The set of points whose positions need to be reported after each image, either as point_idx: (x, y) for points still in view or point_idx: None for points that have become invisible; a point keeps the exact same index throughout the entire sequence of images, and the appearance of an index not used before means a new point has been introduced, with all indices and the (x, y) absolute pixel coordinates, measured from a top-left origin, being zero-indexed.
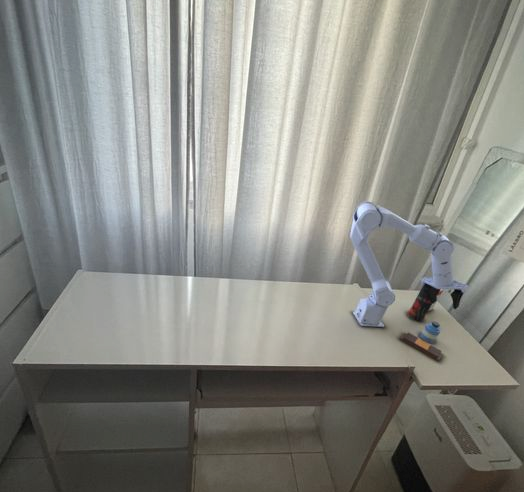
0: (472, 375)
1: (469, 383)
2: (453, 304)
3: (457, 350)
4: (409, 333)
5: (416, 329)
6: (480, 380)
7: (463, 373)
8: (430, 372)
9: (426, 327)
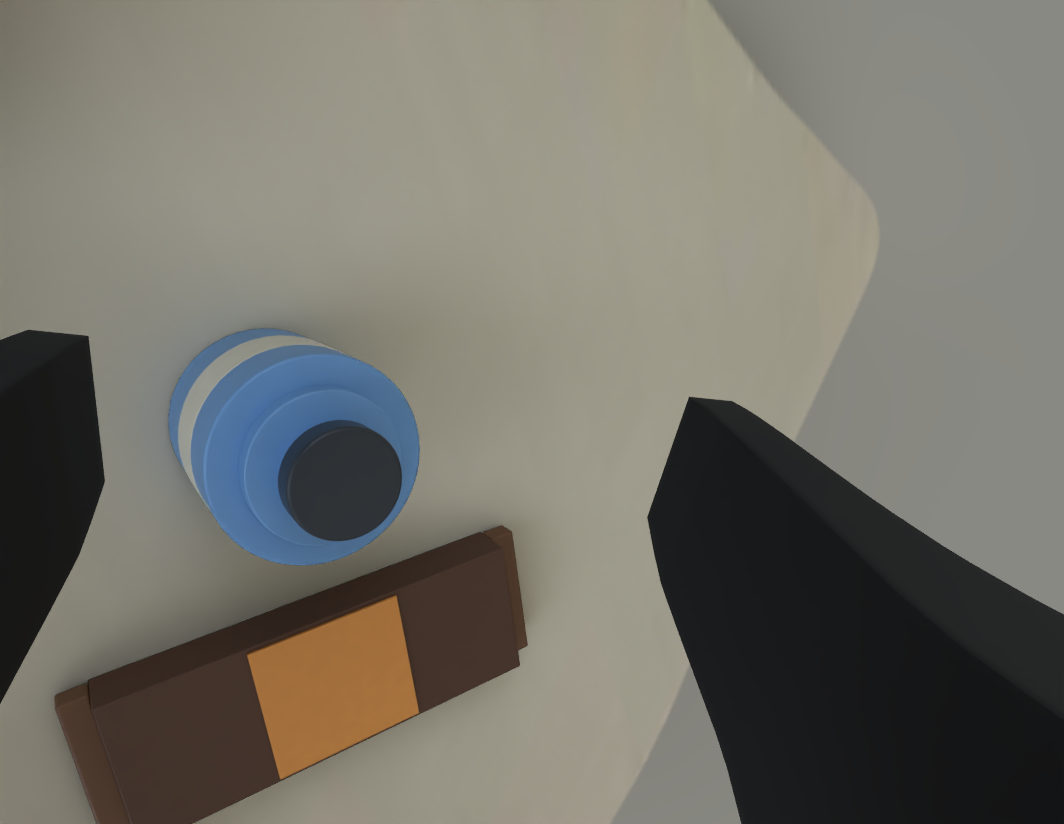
0: None
1: None
2: (700, 661)
3: (553, 254)
4: (121, 707)
5: None
6: None
7: None
8: (534, 815)
9: (245, 547)
